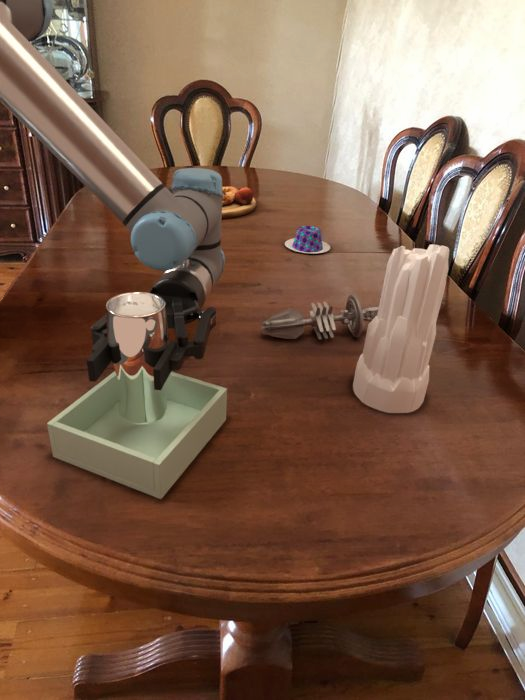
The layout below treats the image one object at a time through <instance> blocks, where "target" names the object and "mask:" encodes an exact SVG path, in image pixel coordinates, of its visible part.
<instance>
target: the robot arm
mask: <svg viewBox="0 0 525 700" xmlns="http://www.w3.org/2000/svg"><path fill="white" fill-rule="evenodd" d="M53 11H54V3H53V0H0V103H1V104H2V105H4V107H5V108H6V109H7V110H8V111H9V112H10V113H11V114H12V115H13V116H15V118H17V120H18V121H19V122H20V123H21V124H22V125H23V126H24V127H25V128H26V129H28V131H29V132H30V133H31V134H33V136H35V137H36V138H37V140H39V142H40V143H41V144H42V145H44V147H46V149H47V150H49V151H50V152H51V154H52V155H54V156H55V158H57V159H58V160H59V162H60V163H62V164H63V166H65V167H66V169H67V170H68V171H69V172H70V173H71V174H73V175H74V176H75V177H76V179H77V180H78V181H79V182H80V183H82V184H83V185H84V186H85V187H86V189H87V190H89V191H90V192H91V193H92V195H94V196H95V197H96V199H97V200H99V201H100V203H102V205H104V206H105V208H106V209H108V211H109V212H111V213H112V214H113V215H114V217H116V219H118V220H119V221H120V223H122V224H123V226H124V227H125V228H126V229H127V230H128V231H129V233H131V234H130V244H131V248H132V250H133V253H134V256H135V257H136V259H137V260H138V261H139V262H141V264H143V265H144V266H146V267H147V268H149V269H152V270H155V271H159V272H164V273H162V275H161V276H160V277H159V278H158V280H157V281H156V282H155V283H154V284H153V285H152V287H151V289H150V291H149V293H152V294H155V295H158V296H160V297H161V298H163V299H164V301H165V308H166V315H167V323H168V329H172V330H173V332H174V337H175V340H170V341H169V342H168V346H167V348H166V349H165V351H164V352H163V354H162V356H161V357H160V359H159V361H158V362H157V364H156V366H155V367H154V369H153V375H154V390H161V389H162V387H163V386H164V384H165V382H166V380H167V378H168V377H169V375H170V373H171V372H173V371H175V372H178V371H179V370H181V369H182V367H183V365H184V363H185V362H186V360H188V359H189V357H193V358H194V359H195V360H203V359H204V356H205V352H206V349H207V344H208V342H209V341H208V340H209V336H210V332H211V331H212V329H214V328H215V327H216V325H217V308H216V307H214V306H210V307H207V308H206V309H203V306H205V304H206V301H207V300H208V298H209V296H210V294H211V292H212V290H213V288H214V287H215V285H216V283H217V282H218V281H219V280H220V279H221V276H222V275H223V273H224V268H225V265H226V257H225V253H224V250H223V249H222V219H223V218H222V198H223V194H222V187H223V177H222V176H221V174H220V173H219V172H217V171H215V170H213V169H209V168H203V167H185V168H180V169H177V170H176V171H175V172H173V174H172V183H173V186H172V188H171V190H172V193H173V194H172V193H171V192H170V191H169V190H168V189H169V188H167V187H166V186H165V185H164V183H163V182H162V181H161V180H160V179H159V178H158V176H156V175H155V174H154V173H153V172H152V171H151V170H150V168H149V167H148V166H147V165H146V164H145V163H144V162H143V161H142V160H141V159H140V158H139V157H138V155H136V153H134V151H133V150H131V148H130V147H129V146H128V145H127V144H126V143H125V142H124V141H123V140H122V139H121V137H119V135H117V133H115V131H114V130H113V129H112V128H111V126H109V125H108V124H107V122H105V121H104V119H103V118H102V117H100V115H99V114H98V113H97V112H96V111H95V110H94V109H93V108H92V107H91V105H89V103H87V101H86V100H84V98H83V97H82V96H81V95H80V94H79V93H78V92H77V91H76V89H74V88H73V86H71V84H69V82H67V80H66V79H65V78H64V77H63V76H62V74H60V73H59V72H58V71H57V69H55V67H54V66H53V65H51V64H50V62H49V61H48V60H47V59H46V58H45V57H44V56H43V55H42V54H41V53H40V52H39V51H38V50H37V49H36V47H35V46H34V45H33V44H32V43H31V42H35V41H36V40H38V39H39V38H41V37H42V36H43V35H45V33H46V32H47V31H48V30H49V28H50V25H51V22H52V18H53ZM196 321H198V323H197V327H196V330H195V333H194V337H193V340H191V341H190V340H189V334H188V333H187V329H186V328H187V327H186V325H188V324H190V323H194V322H196ZM90 332H91V340H92V345H93V346H91V351H92V353H91V355H90V356H89V357H88V358H87V360H86V365H87V374H88V382H97V381H98V379H99V378H101V376H102V374H103V373H104V372H105V371H106V369H107V368H108V367H109V365H110V363H112V359H111V355H110V351H109V346H108V339H107V313H105V314H104V315H103V316H102V317H101V318H99V319H98V320H97V321H96V322H94V323H93V324H92V325H91V326H90Z"/></svg>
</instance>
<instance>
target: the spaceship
mask: <svg viewBox="0 0 525 700" xmlns="http://www.w3.org/2000/svg"><path fill="white" fill-rule="evenodd" d="M346 299H347V300H346V303H345V309H341V310H340V314H338V315H334V313H333V309H334V308H333V306H331V305H330V306H329V304H328V302H327V301H323V302H322V303H323V305H322V303H321V302H320V301H319V302H317V303H316V304H317V306H316V304H315V302H311V304H310V305H311V308H312V310H309V314H310V317H309V318H304V314H303V312H301V311H299V310H296V309H295V308H292V307H290V308H287V309H285V310H283V311H280V312H278V313H276V314H274V315H271V316H269V318H267V319H265V320H262V321H261V322H260V326H261V334H262V335H267V336H270V337H275V338H278V339H279V338H280V339H286V340H296V339H297V338H299V337H300V336H301V335H303V333H305V327H307V326H311V328H312V333H315V334H316V335H317V336H316V337H317V338H318V340H322V339H323V337H324V339H329V337H328V334H329V336H330V338H331V339H332V338H335V335H334V333H333V331H336V330H337V328H336V324H335V322H340V323H341V325H342V326H343V325H346V326H347V328H348V330H349V332H350V333H351V334H352V336H353V338H357V339H358V338H359V337H360V336H361V335H362V332H363V328H364V321H365V322H367V321H368V323H370V322H371V321H372V320H373V319H374V318H375V316H377V314H378V309H379V306H372V305H371V306H367V307H366V308H363V309H362V305H361V303H360V300H359V299H358V297H357V295H355V294H353V293H351V294H350V295H348V297H347V298H346ZM323 306H324V307H323ZM446 306H447V304H446V302H445V301H442V302H441V306H440V310H442V309H443V308H445V307H446ZM321 333H322V335H323V337H322V335H321ZM327 333H328V334H327Z"/></svg>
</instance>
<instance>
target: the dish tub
mask: <svg viewBox="0 0 525 700" xmlns="http://www.w3.org/2000/svg"><path fill="white" fill-rule="evenodd" d="M164 393H165V397H166V401H167V405H168V410H167V413H166V414H165V416H164V417H162V418H161V419H160V420H158V421H156V422H153V423H150V424H143V425H138V424H132V423H129V422H126V421H125V420H123V419H122V418H121V417H120V414H119V405H120V386H119V382H118V378H117V375H116V372H115V370H114V371H112V372H111V374H109V375H108V376H106V377H105V378H104V379H102V380H101V381H100V382H98V383H97V384H96V385H94V386H93V387H92V388H91V389H89V390H88V391H87V392H86V393H84V394H83V395H82V396H80V397H79V398H78V399H76V400H75V401H74V402H73V403H71V404H70V405H69V406H68V407H66V408H64V410H62V411H61V412H60V413H58V414H57V415H56V416H54V417H53V418H51V419H50V420H49V421H48V422H47V423H46V426H47V432H48V436H49V442H50V447H51V452H52V457H53V458H55V459H58V460H60V461H63V462H65V463H67V464H70V465H73V466H76V467H78V468H81V469H83V470H85V471H88V472H90V473H93V474H96V475H99V476H100V477H103V478H105V479H108V480H111V481H114V482H116V483H118V484H121V485H124V486H126V487H129V488H131V489H134V490H136V491H139V492H141V493H144V494H146V495H149V496H151V497H154V498H156V499H159V500H162V499H163V498H164V496H165V495H167V493H168V492H169V490H170V489H171V488H172V487H173V486H174V484H175V483H176V482H177V481H178V479H179V478H180V477H181V476H182V475H183V473H184V472H185V471H186V469H187V468H188V467H189V465H191V463H193V462H194V460H195V458H196V457H197V456H198V455H199V454H200V452H202V450H203V449H204V448H205V447H206V445H207V443H208V442H209V441H210V440H211V439H212V438H213V436H214V435H215V434H216V433H217V432H218V430H219V429H220V428H221V427H222V426H223V424H224V423H225V422H226V420H227V407H228V405H227V404H228V403H227V402H228V388H227V387H223V386H220V385H217V384H214V383H211V382H207V381H204V380H200V379H197V378H195V377H191V376H188V375H184V374H181V373H177V372H174V371H171V373H170V375H169V377H168V378H167V380H166V382H165V384H164Z"/></svg>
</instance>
